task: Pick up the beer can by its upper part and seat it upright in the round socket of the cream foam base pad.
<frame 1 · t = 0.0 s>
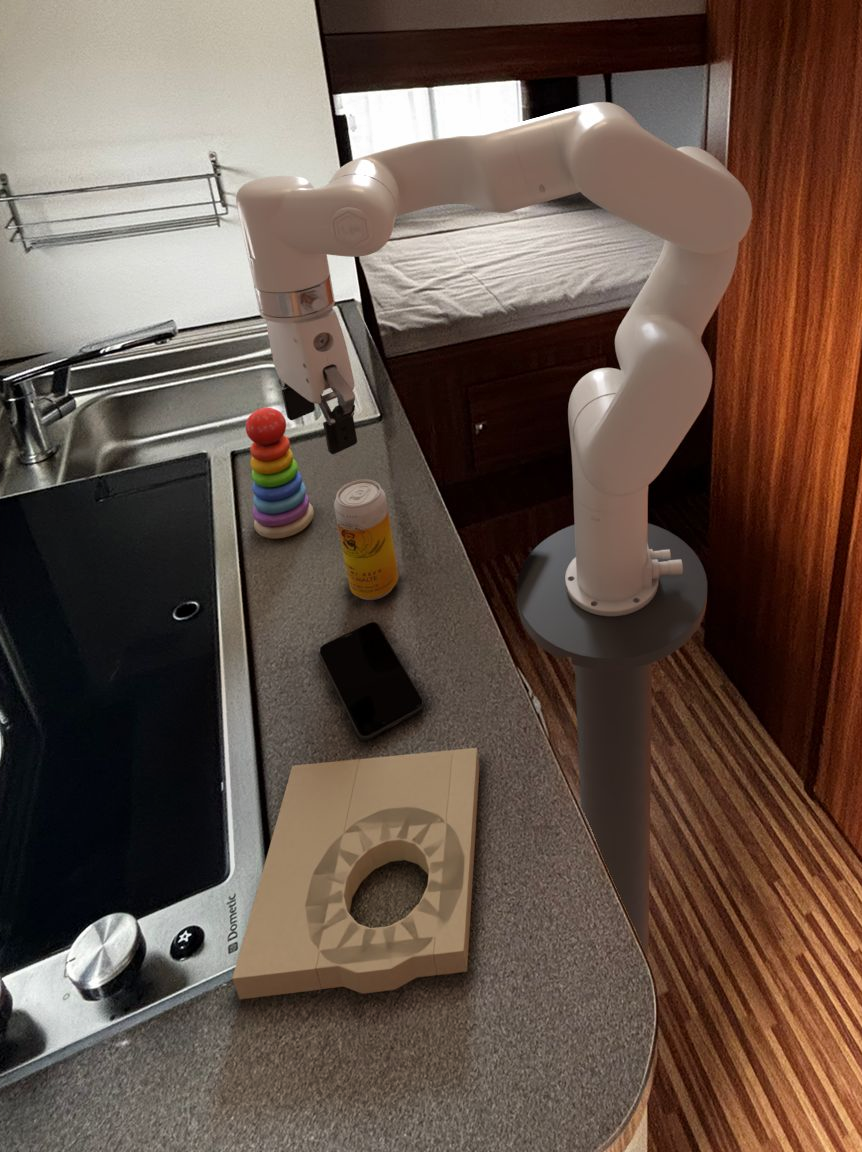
hand: (321, 431, 93), 26 cm above the worktop, tool pointing down, fingers open, 9 cm apart
pad base: (374, 869, 74), on the worktop
smartphone: (370, 680, 93), on the worktop
beer can: (375, 586, 106), on the worktop
stacking toy: (285, 524, 117), on the worktop
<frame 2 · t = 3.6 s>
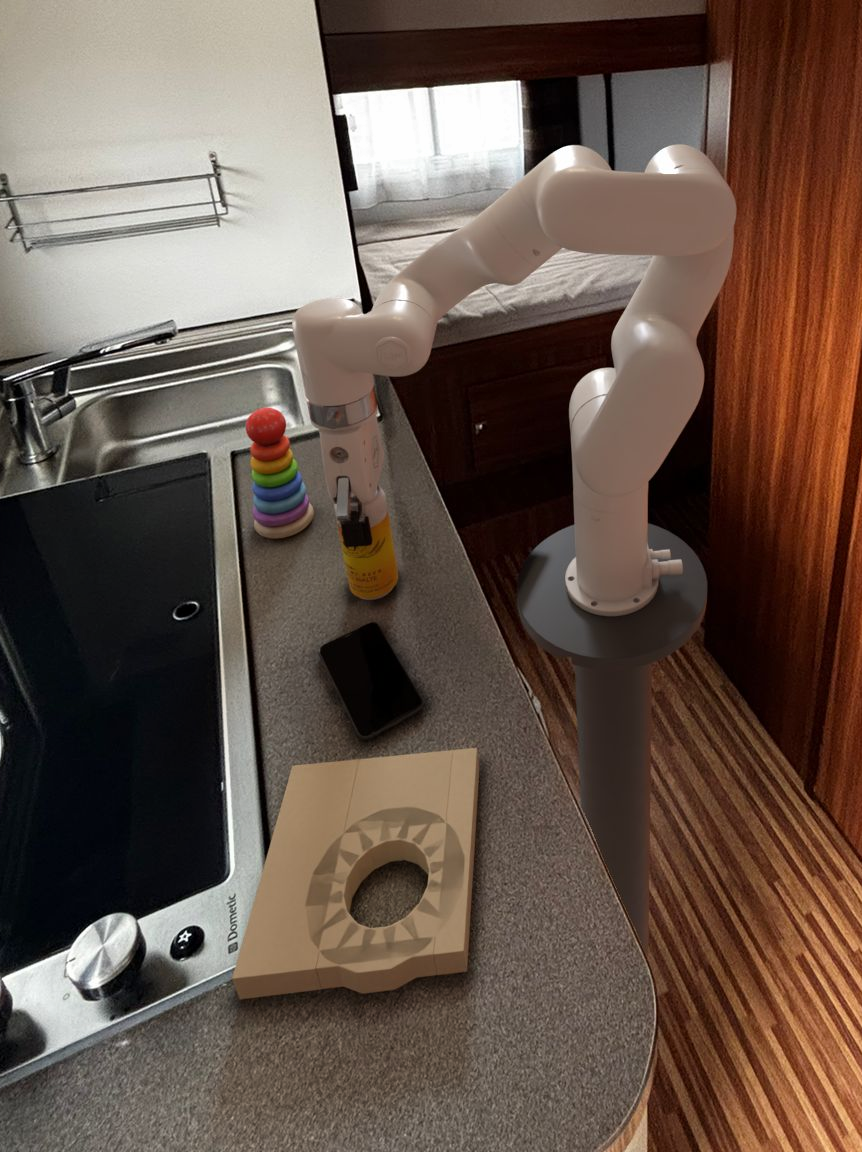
hand: (364, 524, 102), 10 cm above the worktop, tool pointing down, fingers closed on beer can, 6 cm apart
beer can: (375, 586, 106), on the worktop, touching gripper
everything else where it was.
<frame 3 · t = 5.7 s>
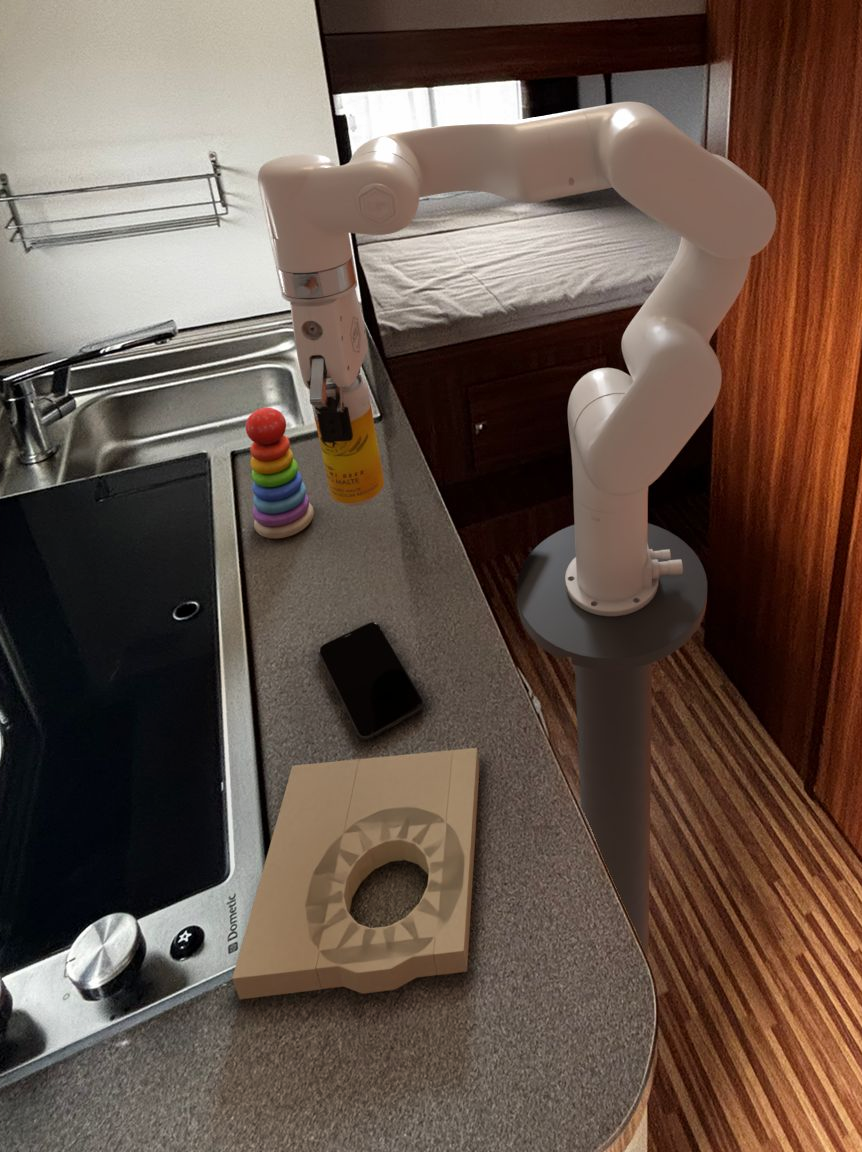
hand: (345, 421, 92), 27 cm above the worktop, tool pointing down, fingers closed on beer can, 6 cm apart
beer can: (358, 494, 96), point 17 cm above the worktop, touching gripper
everything else where it was.
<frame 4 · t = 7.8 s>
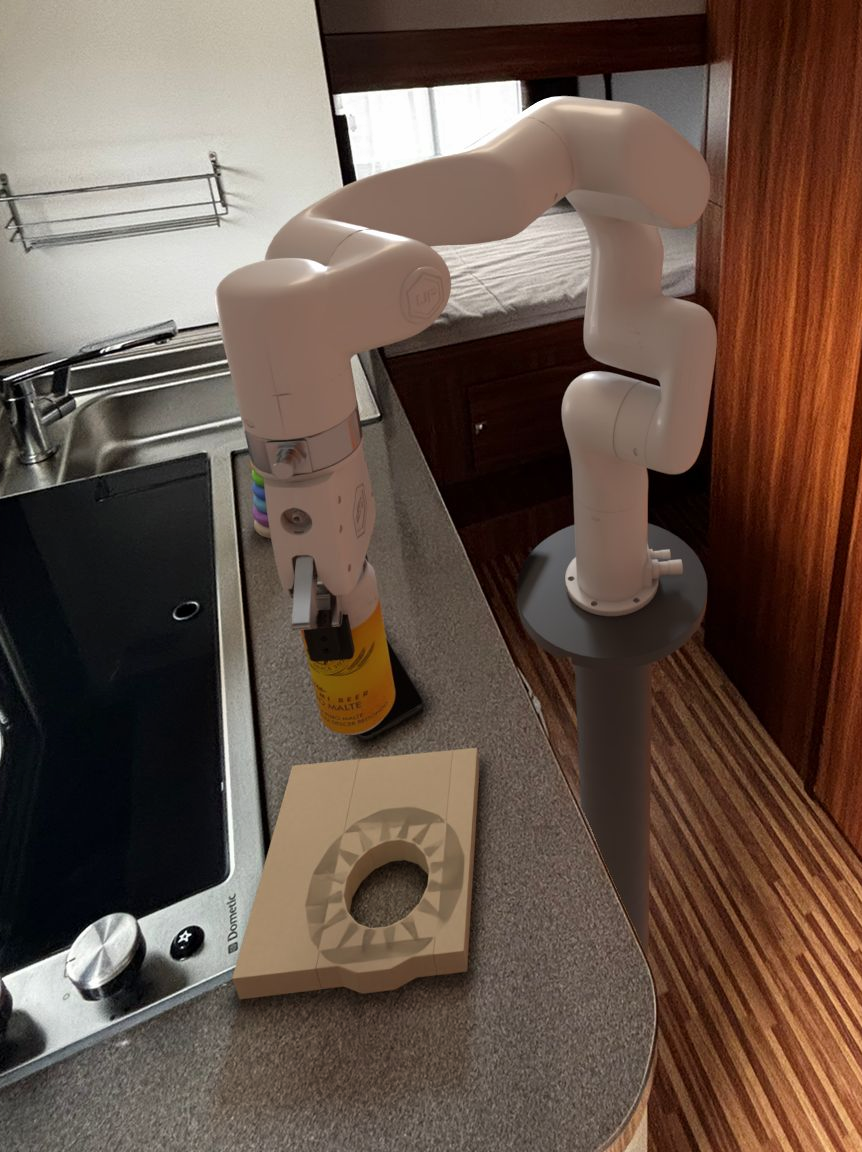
hand: (343, 621, 65), 28 cm above the worktop, tool pointing down, fingers closed on beer can, 6 cm apart
beer can: (359, 710, 69), point 18 cm above the worktop, touching gripper
everything else where it was.
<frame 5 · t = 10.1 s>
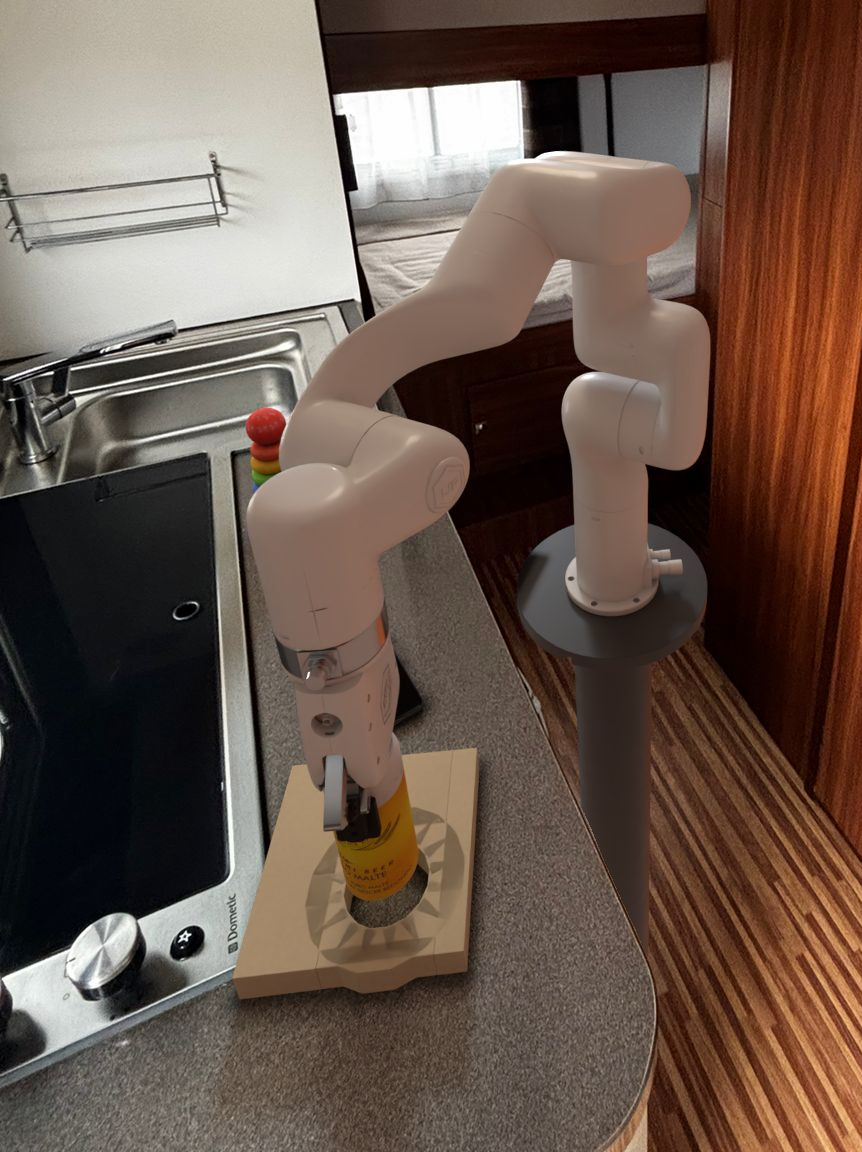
hand: (368, 791, 65), 15 cm above the worktop, tool pointing down, fingers closed on beer can, 6 cm apart
beer can: (383, 869, 70), point 5 cm above the worktop, touching gripper
everything else where it was.
when the fingers open (10 cm above the worktop, at t = 12.0 s): beer can stays where it is, resting in pad base.
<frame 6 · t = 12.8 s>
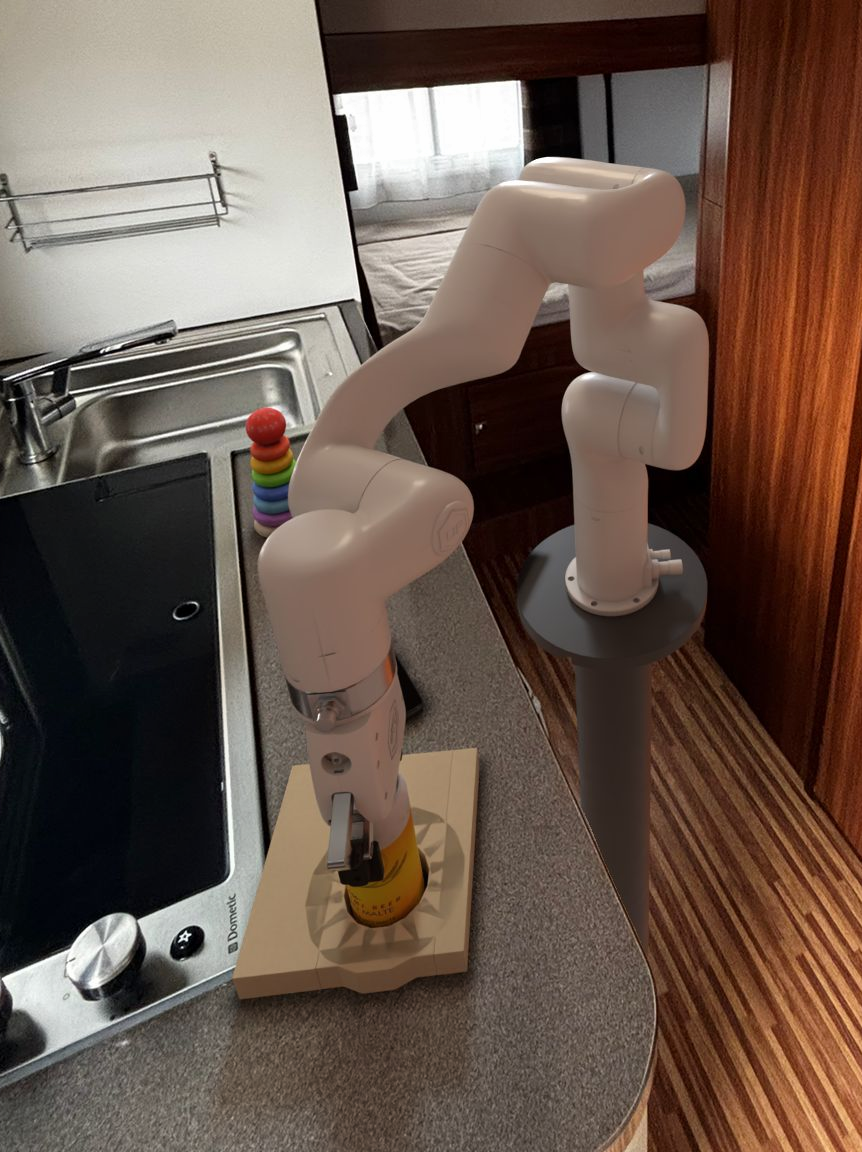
hand: (374, 816, 67), 12 cm above the worktop, tool pointing down, fingers open, 9 cm apart
beer can: (390, 903, 72), resting in pad base
everything else where it was.
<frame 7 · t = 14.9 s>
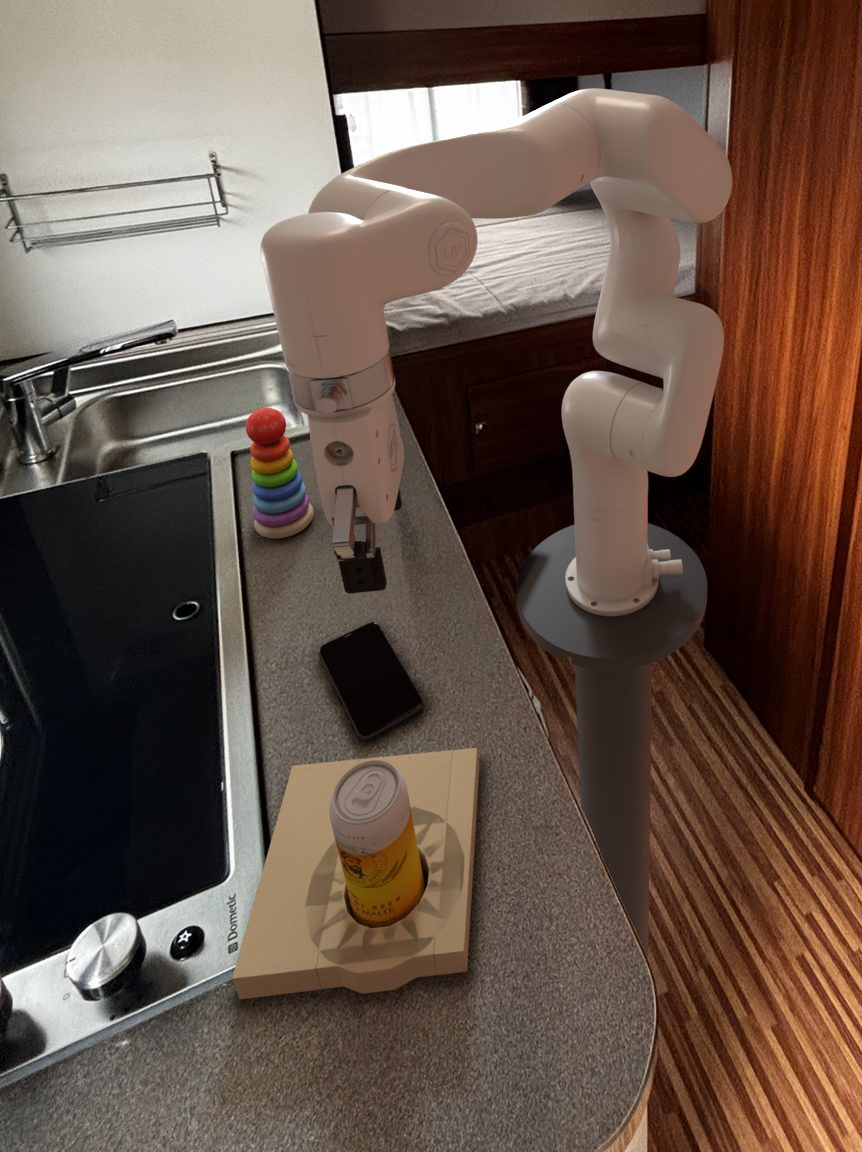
hand: (375, 546, 70), 30 cm above the worktop, tool pointing down, fingers open, 9 cm apart
nothing on the worktop moved.
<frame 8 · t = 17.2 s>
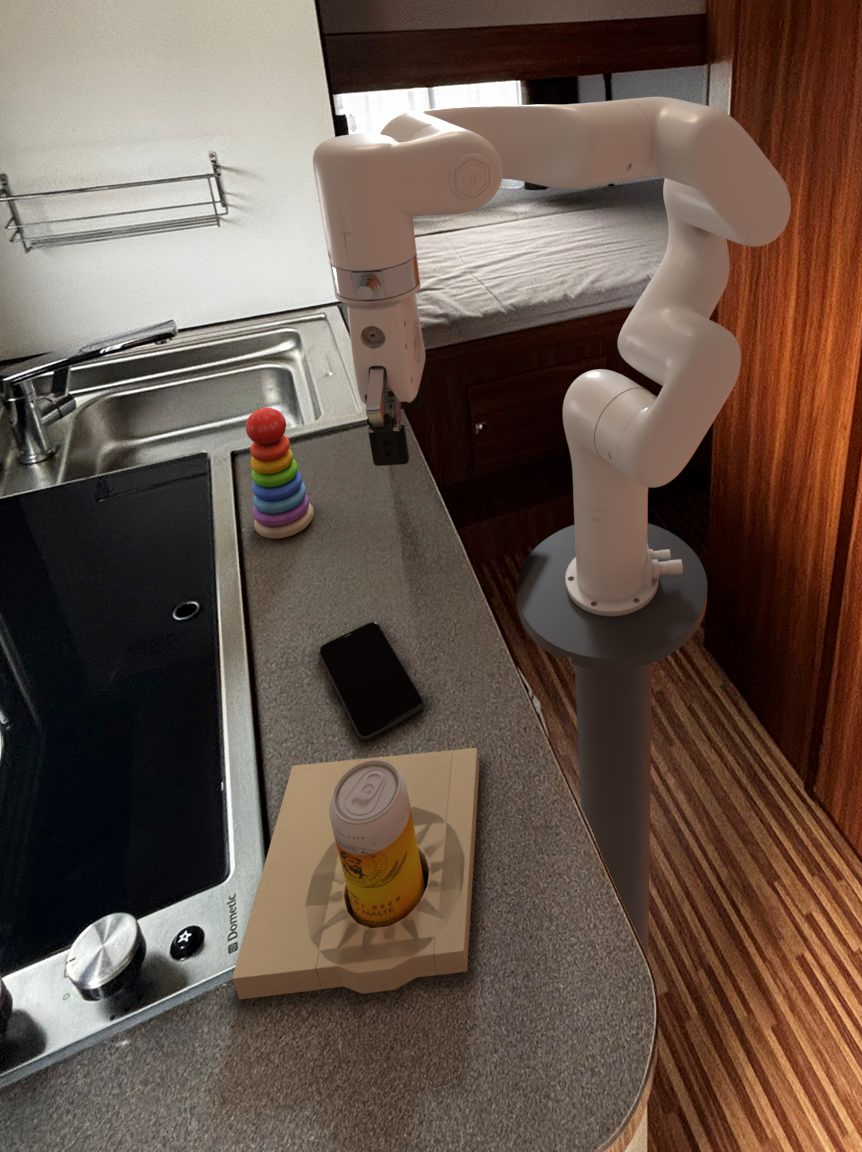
hand: (399, 433, 80), 32 cm above the worktop, tool pointing down, fingers open, 9 cm apart
nothing on the worktop moved.
at the end: beer can 0.1 cm from the target spot in the pad base, point 0.0 cm above the pad base's base; beer can tilted 0° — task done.
